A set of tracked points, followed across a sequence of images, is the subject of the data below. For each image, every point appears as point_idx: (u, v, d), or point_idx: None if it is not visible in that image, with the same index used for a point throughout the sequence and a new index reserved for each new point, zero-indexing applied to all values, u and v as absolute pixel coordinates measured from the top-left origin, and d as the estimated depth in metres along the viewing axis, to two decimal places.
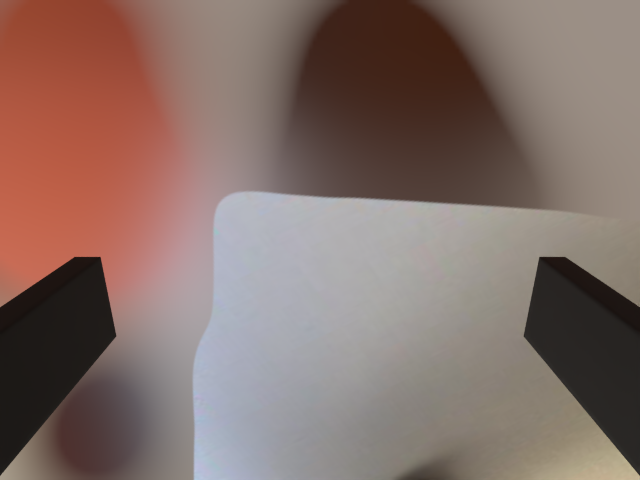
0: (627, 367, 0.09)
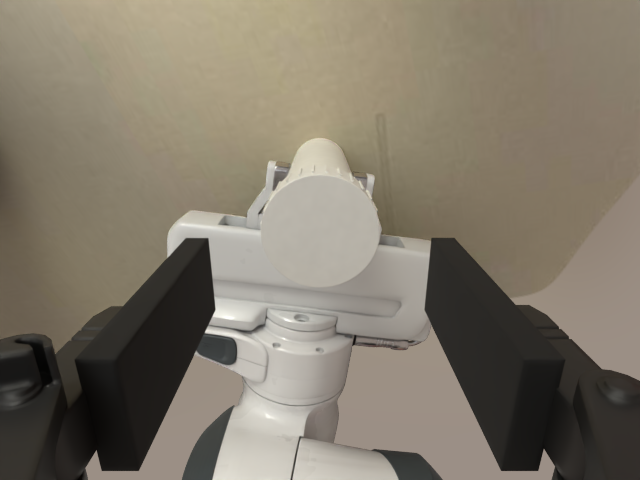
0: (469, 324, 0.10)
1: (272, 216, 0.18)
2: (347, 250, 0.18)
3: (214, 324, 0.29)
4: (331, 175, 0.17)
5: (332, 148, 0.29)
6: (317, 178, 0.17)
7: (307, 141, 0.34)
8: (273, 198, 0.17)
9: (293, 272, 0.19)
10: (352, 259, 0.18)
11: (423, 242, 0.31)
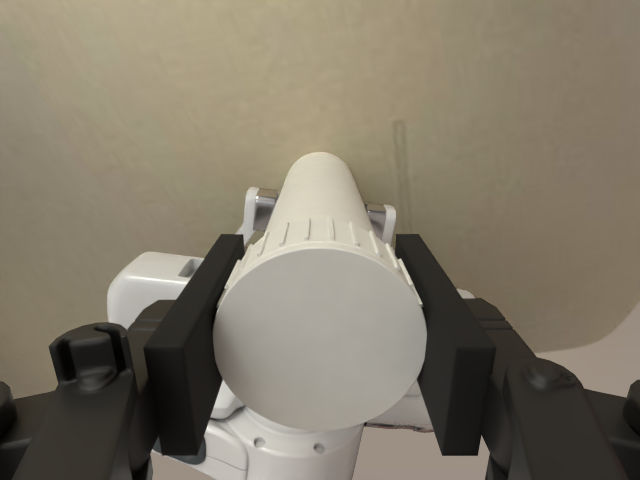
0: None
1: (232, 319, 0.10)
2: (367, 374, 0.10)
3: None
4: (340, 247, 0.09)
5: (336, 169, 0.21)
6: (314, 253, 0.09)
7: (303, 156, 0.26)
8: (233, 288, 0.09)
9: (272, 408, 0.11)
10: (376, 388, 0.10)
11: None
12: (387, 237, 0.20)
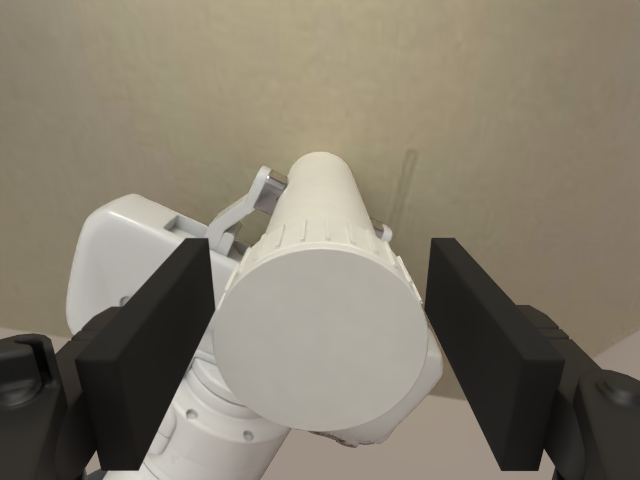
0: (469, 324, 0.10)
1: (259, 400, 0.10)
2: (370, 320, 0.10)
3: None
4: (227, 292, 0.10)
5: (348, 176, 0.22)
6: (223, 316, 0.10)
7: (314, 152, 0.26)
8: (231, 388, 0.10)
9: (367, 409, 0.11)
10: (391, 317, 0.10)
11: None
12: None
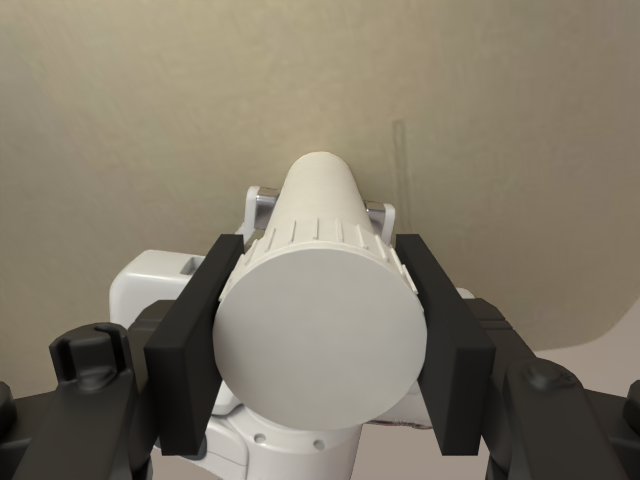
0: None
1: (282, 413, 0.11)
2: (357, 307, 0.10)
3: None
4: (215, 321, 0.10)
5: (336, 168, 0.21)
6: (219, 344, 0.10)
7: (303, 156, 0.26)
8: (252, 408, 0.11)
9: (388, 393, 0.10)
10: (376, 298, 0.09)
11: None
12: (386, 235, 0.20)
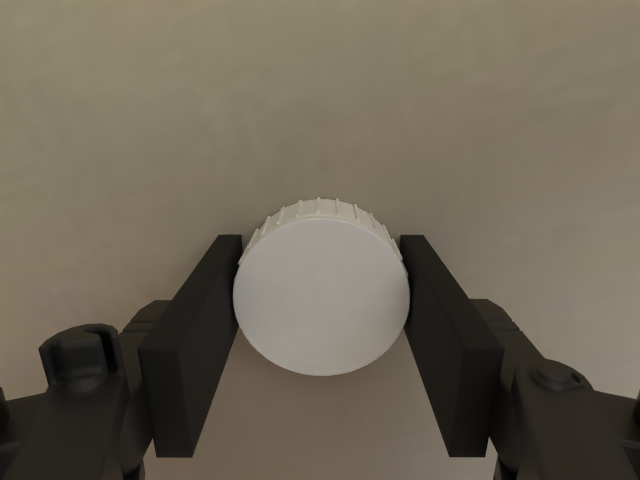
0: (427, 318, 0.10)
1: (290, 359, 0.13)
2: (351, 268, 0.12)
3: None
4: (235, 280, 0.12)
5: None
6: (238, 299, 0.12)
7: None
8: (264, 355, 0.13)
9: (377, 343, 0.13)
10: (367, 261, 0.12)
11: None
12: None
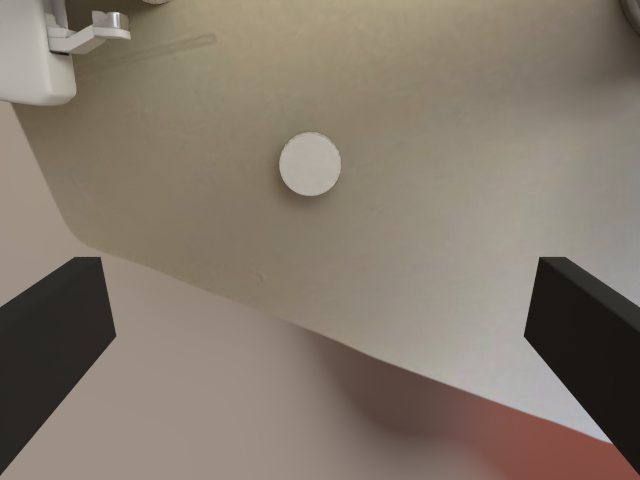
0: (627, 367, 0.08)
1: (299, 189, 0.36)
2: (320, 152, 0.34)
3: None
4: (280, 157, 0.35)
5: None
6: (281, 165, 0.35)
7: None
8: (290, 187, 0.36)
9: (330, 181, 0.35)
10: (325, 150, 0.34)
11: (68, 82, 0.29)
12: (100, 31, 0.26)
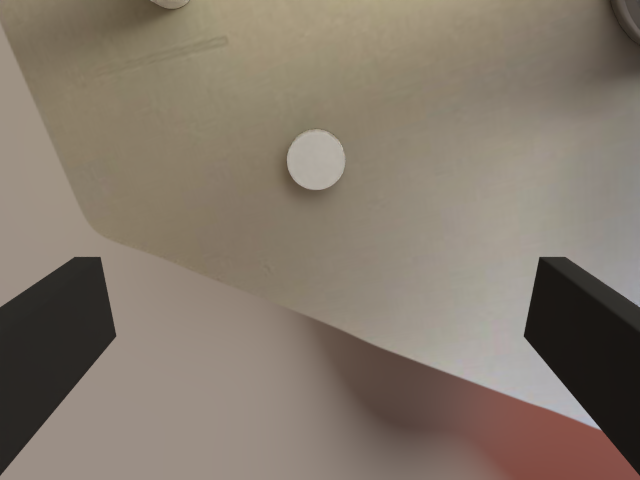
0: (627, 367, 0.09)
1: (305, 183, 0.38)
2: (325, 148, 0.36)
3: None
4: (288, 153, 0.37)
5: None
6: (288, 160, 0.37)
7: None
8: (297, 181, 0.37)
9: (335, 176, 0.37)
10: (330, 146, 0.36)
11: None
12: None
